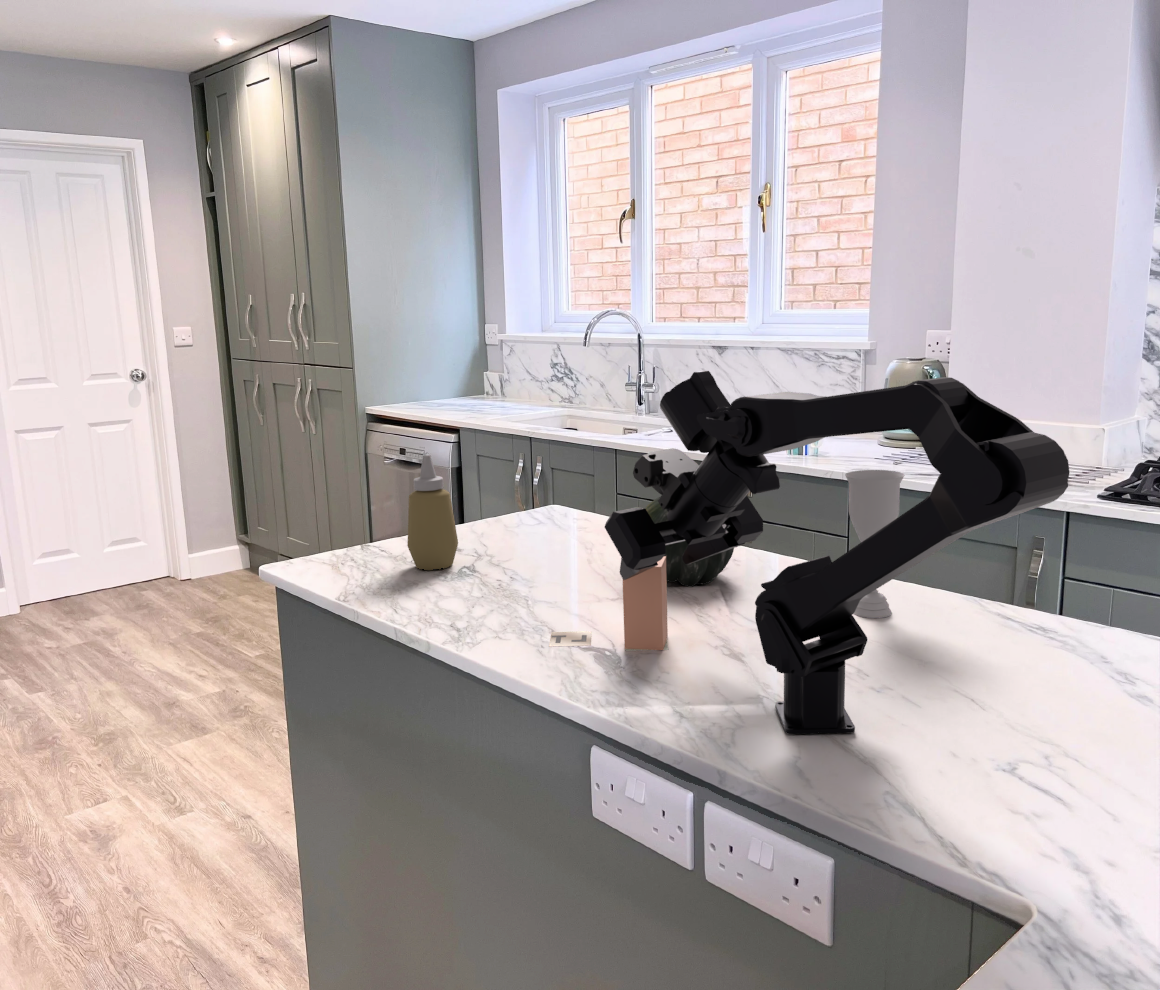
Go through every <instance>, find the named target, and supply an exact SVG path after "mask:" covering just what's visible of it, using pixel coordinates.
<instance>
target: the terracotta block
mask: <svg viewBox="0 0 1160 990" xmlns="http://www.w3.org/2000/svg"><path fill="white" fill-rule="evenodd" d="M657 563H658V565H657V566H655V567H653V568H651V569H648V570H646V571H644V572H642V573H640V574H638V575H636V576H633V577H631V578H629V579H626V580H623V579H622V600H623V601H622V603H623V607H622V608H623V609H622V610H623V630H624V631H623V635H624V642H623V643H624V650H625V649H645V650H644V651H664V650H663V649H664V646H665V643H666V640H667V641H668V634H669V633H668V632H669V631H668V630H669V629H668V593H667V592H668V591H667V590H668V587H667V585H668V584H667V582H668V581H667V580H666V556H664V557H663V558H662V559H661V560H660V561H658V562H657Z"/></svg>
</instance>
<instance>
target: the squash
mask: <svg viewBox="0 0 1160 990" xmlns="http://www.w3.org/2000/svg"><path fill="white" fill-rule="evenodd" d="M660 497H661V496H658V497H657V498H655V499H654V500H652V501H651V502H650V503H649V504H647V506H645V509H646V510H647V512H648V514H649V515H650V517H651V519H652V520H653V522H654V524H655V523H660V522H665V521H668V518H667V513H668V511H667V509H665V510H663V509H662V507H661V506H660V504H659V502H658V500H659V498H660ZM687 546H688V544H687V542H686V541H682V542H677V543H673V544H668V545H665V548H666V554H665V555H664V556H666V581H667V582H669V583H674V582H676V581H678V582H679V583H680V584H681V585H683V586H685V587H694V586H695V585H696V584H698V585H705V584H709V583H711V582H712V581H714V580H715V579H716V578H717V576H719V574H720V573H722V571H723V570H725V568H726V566H727V565H728V564H729V562H730V561H731V559H732V557H733V554H734V551H735V550H734V549H735V548H732V549H729V550H727V551H724V552H721V553H718V554H715V555H713V556H710V557H707V558H704V559H702V560H699V561H696V562H693V563H691V564H687V565H686V564H685V563H684V561H683V560H682V556H683V554H684V552H685V550H686V548H687Z"/></svg>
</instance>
